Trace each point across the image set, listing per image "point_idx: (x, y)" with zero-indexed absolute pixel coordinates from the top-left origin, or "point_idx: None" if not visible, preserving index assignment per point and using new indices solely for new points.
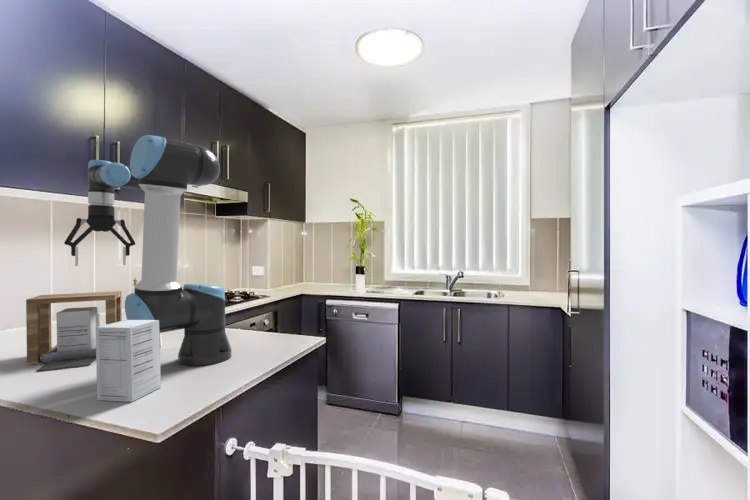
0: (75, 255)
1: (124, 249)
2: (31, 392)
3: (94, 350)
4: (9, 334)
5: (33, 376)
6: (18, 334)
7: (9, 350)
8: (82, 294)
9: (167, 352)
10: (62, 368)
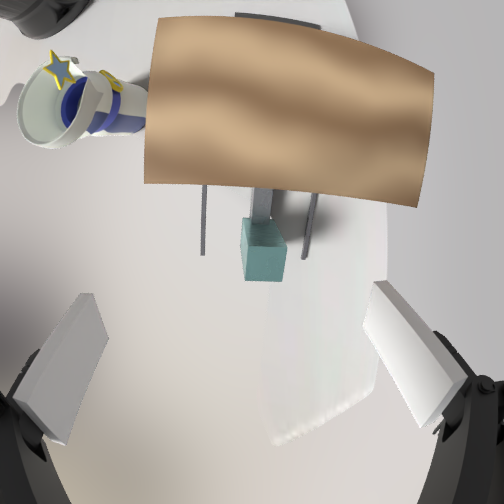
0: (426, 325)
1: (29, 382)
2: None
3: None
4: (375, 366)
5: (315, 4)
6: (366, 363)
7: (384, 246)
8: (293, 116)
9: (96, 54)
10: (279, 18)
